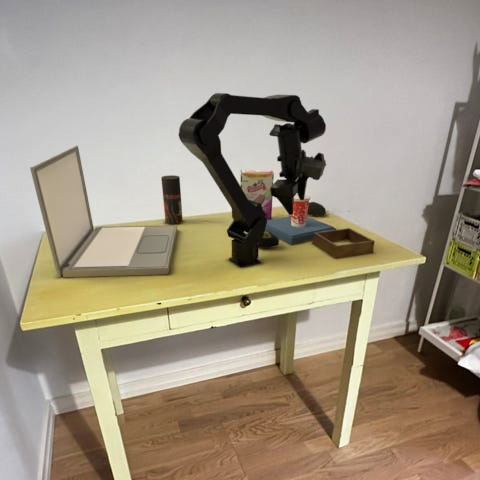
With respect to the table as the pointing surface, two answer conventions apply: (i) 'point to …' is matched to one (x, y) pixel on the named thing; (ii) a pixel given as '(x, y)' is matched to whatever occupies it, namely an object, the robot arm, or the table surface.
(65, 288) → the table surface
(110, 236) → the laptop
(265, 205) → the candy bar box
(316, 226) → the blue square platform
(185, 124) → the robot arm
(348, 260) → the table surface
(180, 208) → the deodorant
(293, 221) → the beverage cup
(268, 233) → the tape measure
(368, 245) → the open box
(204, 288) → the table surface
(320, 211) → the gaming mouse
